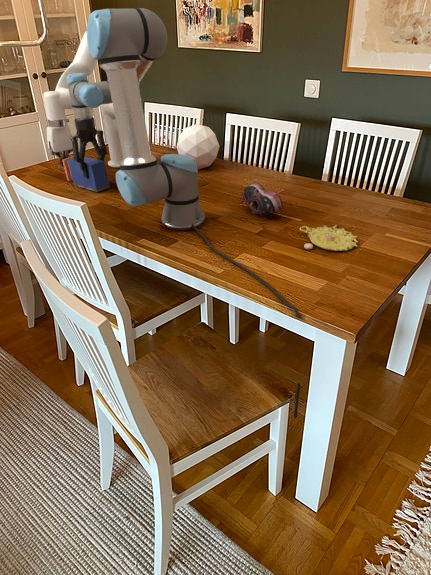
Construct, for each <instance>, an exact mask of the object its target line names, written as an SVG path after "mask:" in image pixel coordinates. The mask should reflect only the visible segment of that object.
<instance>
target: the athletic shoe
mask: <svg viewBox="0 0 431 575" xmlns="http://www.w3.org/2000/svg"><path fill="white" fill-rule="evenodd" d="M241 197H242V199H243V201H238V203H239V204H241V205H245V206H246V207H247V208H248V210H249V211H250V210H251V213H252V214H255V215H260V217H266V216H267V215H270V214H274V213H275V212H279V211H282V210H283V209H284V205H283V201H282V198H281V196H280V195H279V194H278V192H277V191H274V190H269V191H267V190H266V189H265V187H264V186H263V185H262V184H261V183H258V182H251V183H249V184H247V186H246V187H245V188H244V190H243V191H242V192H241Z"/></svg>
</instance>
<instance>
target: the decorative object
mask: <svg viewBox="0 0 431 575" xmlns="http://www.w3.org/2000/svg"><path fill="white" fill-rule="evenodd" d="M303 228H304V229H305V230H304V229H303ZM299 231H300V232H303V233H305V234H307V237H308V238H309V240H310V241H311V243H304V244H303V248H304V249H305V250H313V249H314V245H315V246H316V247H318V248H321V249H324V250H328V251H335V252H341V251H348V250H352V249H354V247H356V248H358V247H359V245H358V244H357V243H359V240H357V238H359V237H358V235H353V234H352V231H347V230H346V229H345V228H344V227H342V228H338V224H335V225H333V226H331V227H328V226H327V225H326V224H325V225H323V226H322V227H321V226H317V227H316V228H314V227H309V226H308V225H302V226H300V227H299ZM313 244H314V245H313Z"/></svg>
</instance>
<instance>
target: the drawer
mask: <svg viewBox="0 0 431 575" xmlns="http://www.w3.org/2000/svg"><path fill="white" fill-rule="evenodd" d="M71 158H74V156H68V158H66V159H63V160H62V161H63V165H64V167H62V165H61V164H58V165H57V168H58V169H59V170H61V169H63V170H64V172H65V177H66V180H67V181H68V182H70V181H73V179H72V175H71V171H70V167H69V163H68V159H71Z"/></svg>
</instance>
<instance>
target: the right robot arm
mask: <svg viewBox="0 0 431 575" xmlns="http://www.w3.org/2000/svg"><path fill="white" fill-rule="evenodd" d="M86 31H87V43H88V48H89V51H90V54H91V56H92V57H93V58H94V59H96V60H97V61H98V65H99V67H100V68H101V69H102V70H103V71H104V72H105V73H106V77H107V80H105V81H95V82H90V81H89V79H88V76H87V75H86V74H84V73H73V74H69V75H67V86H68V90H69V95H70V100H71V104H72V109H71V110H72V115H73V118H74V120H73V121H74V126H75V130H76V134H75V135H72V136H71V137H70V139H71V141H72V146H73V152H72V157H74V161H76V162H78V163H79V164H80V169H81V170H82V171H83V175H84V177H85V178H87V179H88V178H89V176H88V171H87V165H86V162H84V157H86V150H87V149H86V148H87V146H88V143H91V144H92V146H93V148H94V150H95V152H96V153H97V155H98V156H97V157H96V159H98V160H102V161H105V159H106V156H108V149H107V146H106V145H107V144H106V142H105V137H104V130H102V129H97V128H96V122H95V117H94V109H95V108H99V107H100V105H102V104H110V103H113V108H114V113H115V118H116V123H117V128H118V134H119V139H120V144H121V149H122V154H123V159H122V161H121V162H120V167H119V168H120V169H119V170H117V171H116V172H115V182H116V186H117V188H118V191H119V193H120V196H121V197H122V198H123V200H124V201H125V203H126V204H127V205H129V206H131V207H138V206H145V205H147V204H151V203H155V202H158V201H162V200H164V204H163V209H162V213H161V219H160V220H161V225H162V227H163V228H165V229H167V230H170V231H175V232H176V231H177V232H185V231H186V232H187V231H192V230H195V232H197V234H199V235H200V236H201V238H202V239H203V240H204V241H205V243H206V244H207V245H208V247H209V248H210V249H211V250H212V251H214V252H215V253H216V254H218V255H219V256H220V257H223V258H224V259H226V260H228V261H229V262H231V263H232V264H234V265H236V266H238V268H240V269H241V270H243V271H245V272H246V273H248V274H250V275H251V276H252V277H254V278H255V279H256V280H258V281H259V282H261V283H262V284H263V285H264V286H265V287H267V288H268V289H269V290H270V291H271V292H273V294H274V295H275V296H276V297H278V299H280V301H281V302H282V303H283V304H284V305H286V306H287V307H289V308H290V309H291V310H293V312H294V314H295V315H296V317H297V319H302V316H301V314H300V312H299V310H298V309H297V308H296V306H294V305H293V304H291V303H289V302H288V301H287V299H285V297H283V296H282V295H281V294H280V293H279V292H278V291H277V290H276V289H275V288H274V287H273V286H271V285H270V284H269V283H268V282H267V281H266V280H264V279H263V278H262V277H260V276H259V275H257V274H256V273H255V272H253V271H251V270H250V269H248V268H247V267H245V266H244V265H242V264H240V263H239V262H237V261H235V260H234V259H232V258H230V257H229V256H227V255H226V254H225V253H222V252H221V251H220V250H218V249H216V247H214V246H213V245H212V243H210V241H209V240H208V238H207V237H206V236H205V234H203V233H202V232H201V230H200V229H198V228H201V227H202V226H203V225H204V224H205V223H206V215H205V212H204V210H203V208H202V204H201V202H200V196H199V176H198V173H199V169H197V163H196V160H195V159H194V158H192V157H190V156H186V155H180V154H178V153H176V154H175V153H169V154H163V155H161V156H160V162H158V159H157V157H156V156H154V155H153V154H152V153H151V147H150V142H149V136H148V130H147V125H146V119H145V113H144V106H143V101H142V94H141V90H140V83H141V81H142V80H143V79H144V76H145V75H146V73H147V72H148V70H149V69H150V68H151V66H152V64H153V63H154V62H156V61H157V60H159V59H160V58H161V57H162V55H163V54H164V52H165V50H166V49H167V45H168V33H167V28H166V25H165V24H164V21H163V20H162V18H160V17H159V15H158V14H156V13H155V12H154V11H152V10H150V9H147V8H144V7H137V8H102V9H96V10H94V11H92V12H91V13H90V14H89V16H88V20H87V25H86ZM96 136H97V138H96ZM301 386H302V384H301V383H299V382H297V386H296V396H295V404H294V412H293V413H294V414H293V415H294V416H293V419H297V418H298V411H299V410H298V408H299V399H300V393H301Z"/></svg>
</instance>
